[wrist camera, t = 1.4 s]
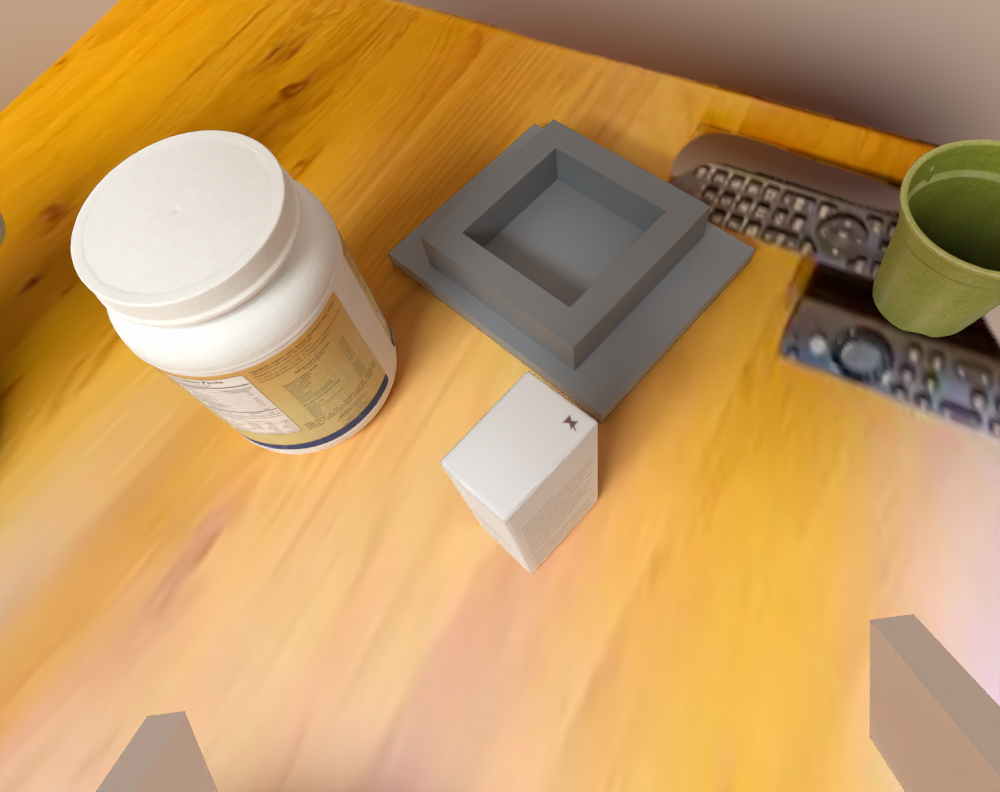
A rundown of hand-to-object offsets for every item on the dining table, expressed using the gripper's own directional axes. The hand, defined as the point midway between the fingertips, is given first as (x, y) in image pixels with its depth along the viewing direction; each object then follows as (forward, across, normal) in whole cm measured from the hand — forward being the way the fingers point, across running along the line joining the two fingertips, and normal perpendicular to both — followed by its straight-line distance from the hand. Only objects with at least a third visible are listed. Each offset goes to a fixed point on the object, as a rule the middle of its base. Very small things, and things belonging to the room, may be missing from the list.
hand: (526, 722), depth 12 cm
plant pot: (+32, +26, -2) cm, 42 cm away
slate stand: (+37, +4, +4) cm, 38 cm away
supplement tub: (+33, -14, -1) cm, 36 cm away
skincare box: (+25, 0, -9) cm, 26 cm away
